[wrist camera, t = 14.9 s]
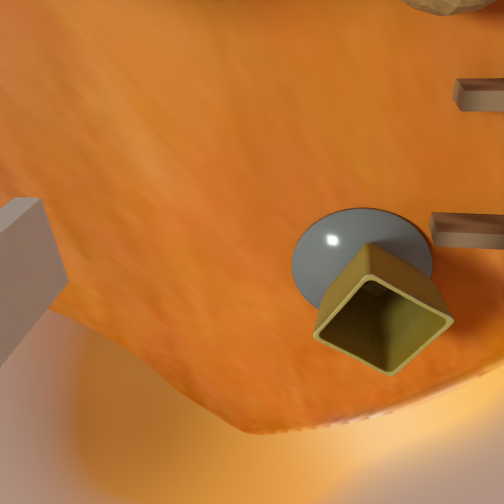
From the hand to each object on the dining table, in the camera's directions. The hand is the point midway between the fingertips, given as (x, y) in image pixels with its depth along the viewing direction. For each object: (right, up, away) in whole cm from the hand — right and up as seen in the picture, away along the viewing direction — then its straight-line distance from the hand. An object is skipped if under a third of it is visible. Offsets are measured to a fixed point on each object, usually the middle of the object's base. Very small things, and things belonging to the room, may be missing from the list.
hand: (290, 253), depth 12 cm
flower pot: (+12, -2, +36) cm, 38 cm away
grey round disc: (+10, -2, +37) cm, 38 cm away
